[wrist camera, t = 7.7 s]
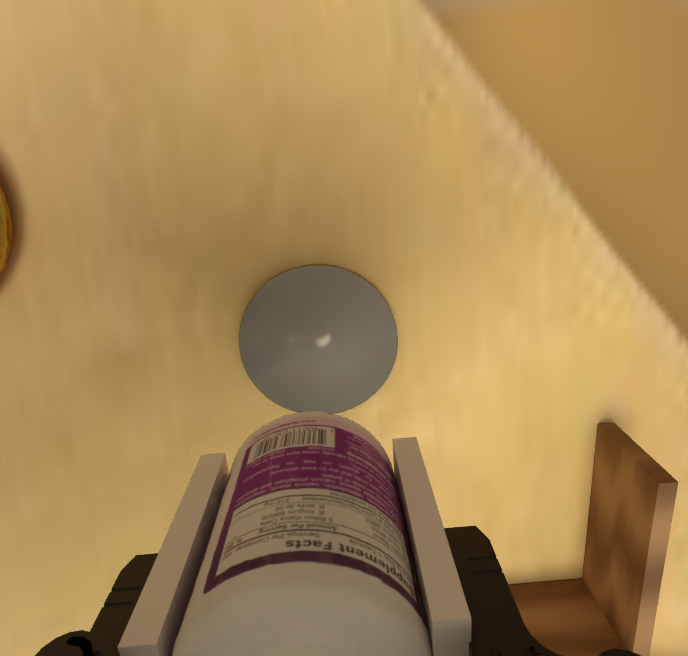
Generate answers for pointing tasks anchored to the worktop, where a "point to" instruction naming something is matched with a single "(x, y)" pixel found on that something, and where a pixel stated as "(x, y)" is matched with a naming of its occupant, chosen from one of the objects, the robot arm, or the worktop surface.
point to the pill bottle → (307, 551)
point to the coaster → (318, 339)
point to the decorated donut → (4, 230)
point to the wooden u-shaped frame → (610, 558)
